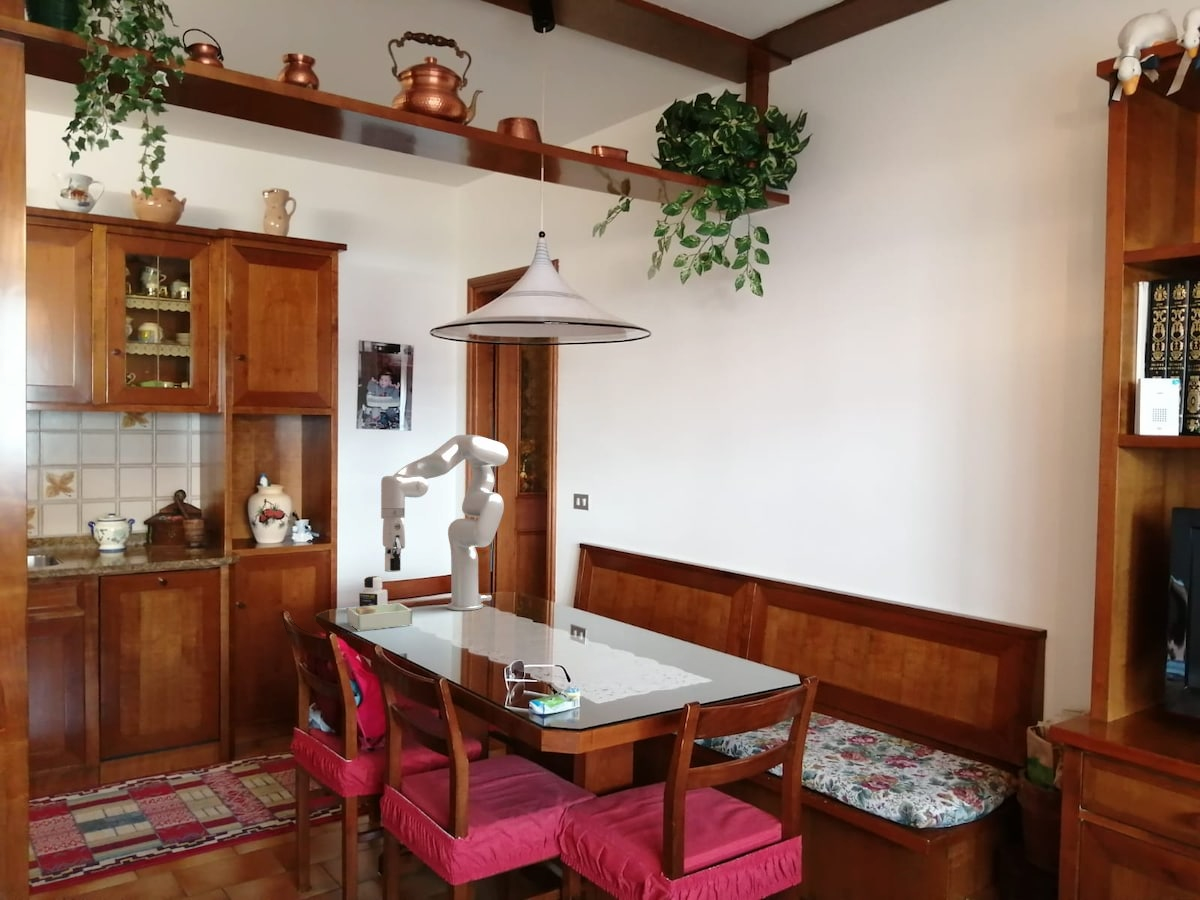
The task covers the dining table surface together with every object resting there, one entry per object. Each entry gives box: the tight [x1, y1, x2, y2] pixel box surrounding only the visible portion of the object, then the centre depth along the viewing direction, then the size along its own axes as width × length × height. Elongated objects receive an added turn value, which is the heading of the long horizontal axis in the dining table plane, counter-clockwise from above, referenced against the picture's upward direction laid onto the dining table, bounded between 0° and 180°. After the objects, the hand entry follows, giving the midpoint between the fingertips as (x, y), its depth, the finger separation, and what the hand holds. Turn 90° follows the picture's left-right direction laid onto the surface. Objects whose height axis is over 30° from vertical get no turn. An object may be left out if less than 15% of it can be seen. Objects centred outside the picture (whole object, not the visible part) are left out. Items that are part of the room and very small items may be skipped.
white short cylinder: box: [384, 553, 402, 573], centre depth 300 cm, size 5×5×6 cm
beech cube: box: [356, 606, 375, 615], centre depth 297 cm, size 5×5×5 cm
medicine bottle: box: [358, 575, 389, 607], centre depth 321 cm, size 7×7×12 cm
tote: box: [346, 602, 413, 632], centre depth 299 cm, size 17×14×5 cm
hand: (392, 568), depth 300 cm, fingers closed on white short cylinder, 4 cm apart
